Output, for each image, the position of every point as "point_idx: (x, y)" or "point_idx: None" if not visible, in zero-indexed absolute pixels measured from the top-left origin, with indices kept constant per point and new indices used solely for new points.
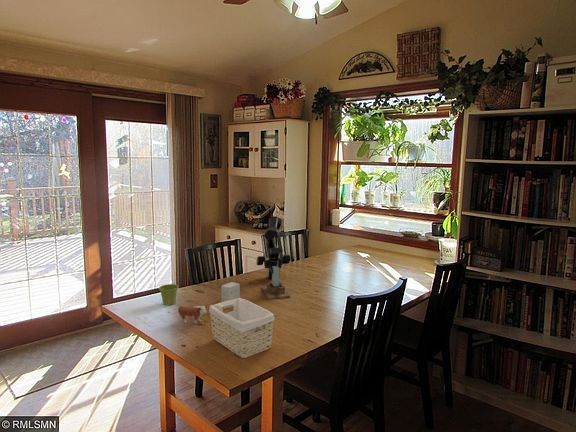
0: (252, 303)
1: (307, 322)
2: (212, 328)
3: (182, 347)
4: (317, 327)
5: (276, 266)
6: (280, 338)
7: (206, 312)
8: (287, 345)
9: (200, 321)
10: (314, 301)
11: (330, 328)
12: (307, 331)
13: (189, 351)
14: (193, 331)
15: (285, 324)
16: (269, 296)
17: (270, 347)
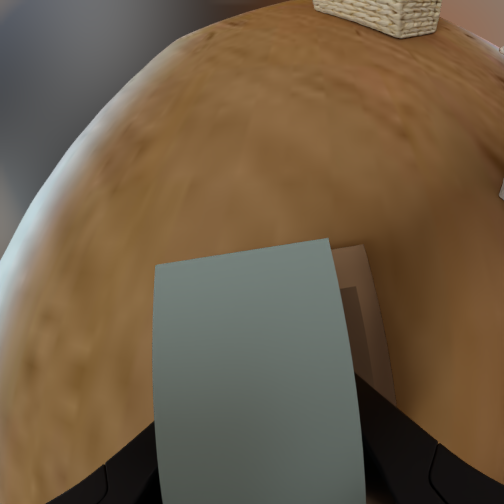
0: None
1: (209, 63)
2: (437, 12)
3: (466, 33)
4: (194, 52)
5: (209, 491)
6: (295, 22)
7: (499, 50)
8: (282, 14)
9: None
10: (95, 212)
11: (166, 56)
12: (226, 39)
13: (448, 25)
14: (492, 62)
15: (277, 50)
16: (354, 262)
17: (315, 9)
